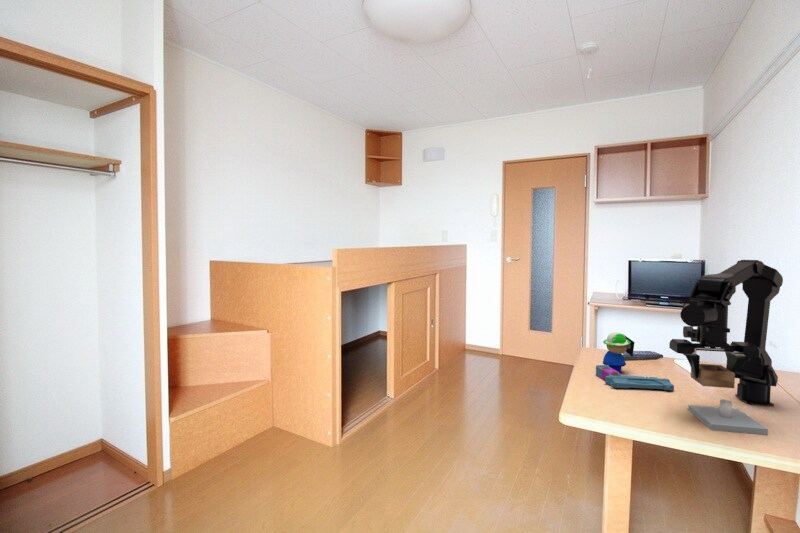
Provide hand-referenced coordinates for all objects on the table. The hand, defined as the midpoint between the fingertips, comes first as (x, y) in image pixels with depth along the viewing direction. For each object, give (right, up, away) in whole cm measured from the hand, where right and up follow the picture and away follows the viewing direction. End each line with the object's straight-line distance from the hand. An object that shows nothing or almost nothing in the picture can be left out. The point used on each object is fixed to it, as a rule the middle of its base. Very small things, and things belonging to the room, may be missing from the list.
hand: (711, 378), depth 104 cm
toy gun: (-5, -10, +26) cm, 29 cm away
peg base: (+2, -11, -2) cm, 11 cm away
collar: (0, -1, 0) cm, 1 cm away
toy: (-5, -9, +38) cm, 39 cm away
